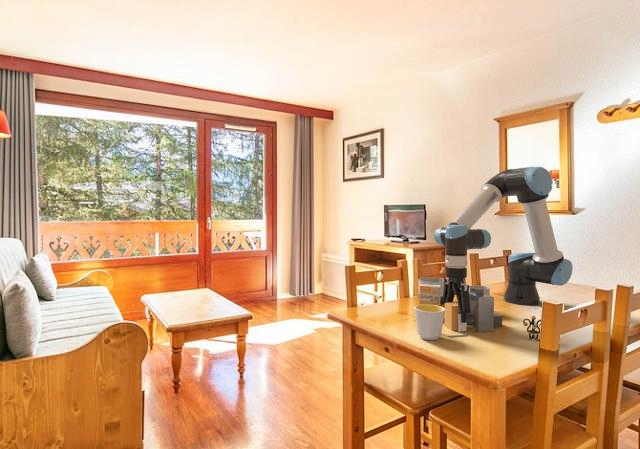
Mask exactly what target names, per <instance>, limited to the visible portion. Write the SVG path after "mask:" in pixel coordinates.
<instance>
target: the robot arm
mask: <svg viewBox="0 0 640 449" xmlns="http://www.w3.org/2000/svg"><path fill="white" fill-rule="evenodd" d="M553 181H554V180H553V178H552V175H551V173H550V172H549V171H548V169H546V168H544V167H542V166H527V167H521V168H519V167H518V168H510V169H506V170H502V171H500V172H498V173H497V174H495V175H494V176H492V177H491V178H490V179H489V180H487V181H486V182H485V183H484V184H482V187H481V189H480V192H478V194H476V196H474V198H473V199H471V201H470V202H469V203H468V204H467V205H466V206H465V207H464V208H463V209H462V210H461V211H460V212H459V213H458V214H457V215H456V217H454V218H453V219H452V220H451V221H450V223H448V224H447V225H446V227H444V226H442V227H438V228H437V229H436V230H435V231H434V234H433V240H434V242H435V243H436V245H438V246H443V247H445V258H444V261H445V266H446V267H445V271H444V272H445V273H444V274H445V277H446V278H443V279H444V291H443V301H442V302H441V303H442V304H444V305H445V303H452V302H454V300H455V297H456V301H457V302H458V306H459V311H460V312H458V330H457V332H467V330H466V315H467V313H471V310H470V300H469V286H470V285H469V284H465V279H466V278H467V275H468V268H467V266H468V250H481V249H486V248H488V247H489V246H490V245H491V243H492V236H491V234H490V232H489V231H488V230H486V229H483V228H482V229H481V228H476V229H475V228H474V229H472V227H473V226H474V225H475V224H477V222H478V221H479V220H480V219H481V218H482V217H483V216H484V215H485V213H487V212H488V211H489V210H490V208H491V207H492V206H493V205H494V204H495V203H498V202H501V201H502V200H503V198H506V197H516V199H517V202H518V203H519V204H520V205H522V206H523V210H524V214H525V217H526V222H527V226H528V230H529V233H530V237H531V238H530V239H531V241H532V245H533V249H534V252H517V253H510V254H509V255H508V261H507V266H508V267H507V268H508V269H507V271H508V272H507V275H508V276H507V286H506V289H505V292H504V294H503V300H504V302H506V303H507V302H508V303H510V304H516V305H521V306H522V305H523V306H524V305H527V306H533V305H539V304H540V303H541V298H540V295H539V292H538V289H537V286H536V284H537V283H542V284H548V285H552V286H560V287H561V286H564V285H566V284H567V283H568V282H569V281H570V279H571V277H572V274H573V263H572V261H571V260H569V259H567V258H565V257H564V253H563V251H561V250H559V249H558V247H557V246H558V245H557V242H556V238H555V237H556V236H555V234H554V233H555V232H554V229H553V224H552V221H551V217H550V213H549V212H550V211H549V208H548V204H547V199H548V198H549V195H550V193H551V191H552V189H553V183H554V182H553Z"/></svg>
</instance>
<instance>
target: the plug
mask: <svg viewBox="0 0 640 449" xmlns="http://www.w3.org/2000/svg"><path fill="white" fill-rule="evenodd" d="M444 308H445V315H444V327H445V328H446V329H448V330H450V331H458V312H460V311H459V306H458V301H457V302H455V301H453V302H452V303H445V304H444ZM474 325H475V320H471V321H467V315H466V331H467V329H468V328H467V326H474ZM499 327H503V315H500V314H499V313H496V312H494V328H499Z"/></svg>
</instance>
